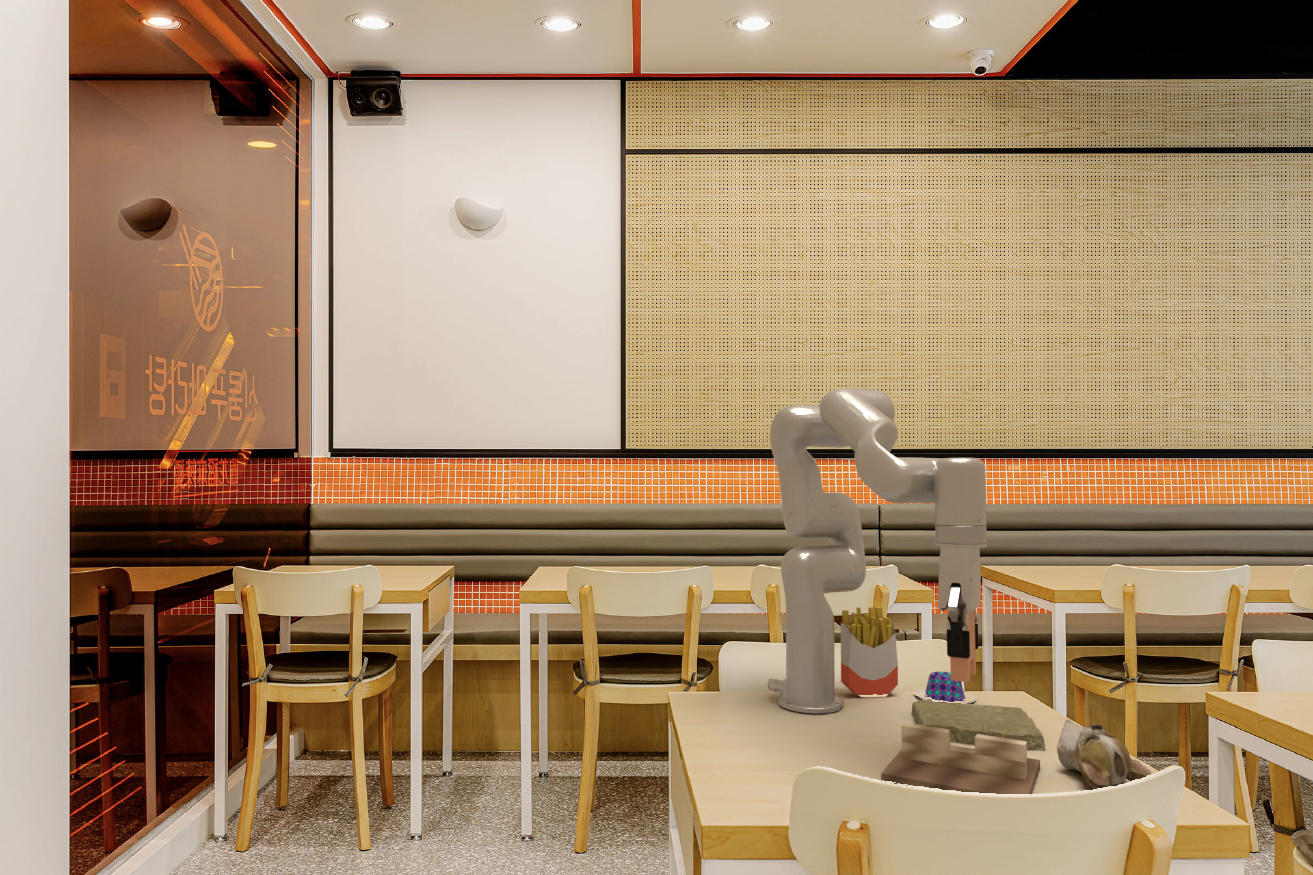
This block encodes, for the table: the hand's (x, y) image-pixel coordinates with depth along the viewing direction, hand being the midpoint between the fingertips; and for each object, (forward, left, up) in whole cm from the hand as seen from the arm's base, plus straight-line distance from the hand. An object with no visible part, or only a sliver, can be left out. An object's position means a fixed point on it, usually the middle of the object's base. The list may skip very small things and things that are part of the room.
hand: (963, 651), depth 127 cm
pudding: (-11, +44, -19) cm, 50 cm away
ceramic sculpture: (+18, +8, -19) cm, 28 cm away
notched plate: (0, 0, -4) cm, 4 cm away
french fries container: (-25, +38, -19) cm, 50 cm away
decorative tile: (-2, +24, -19) cm, 31 cm away
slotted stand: (0, 0, -19) cm, 19 cm away
